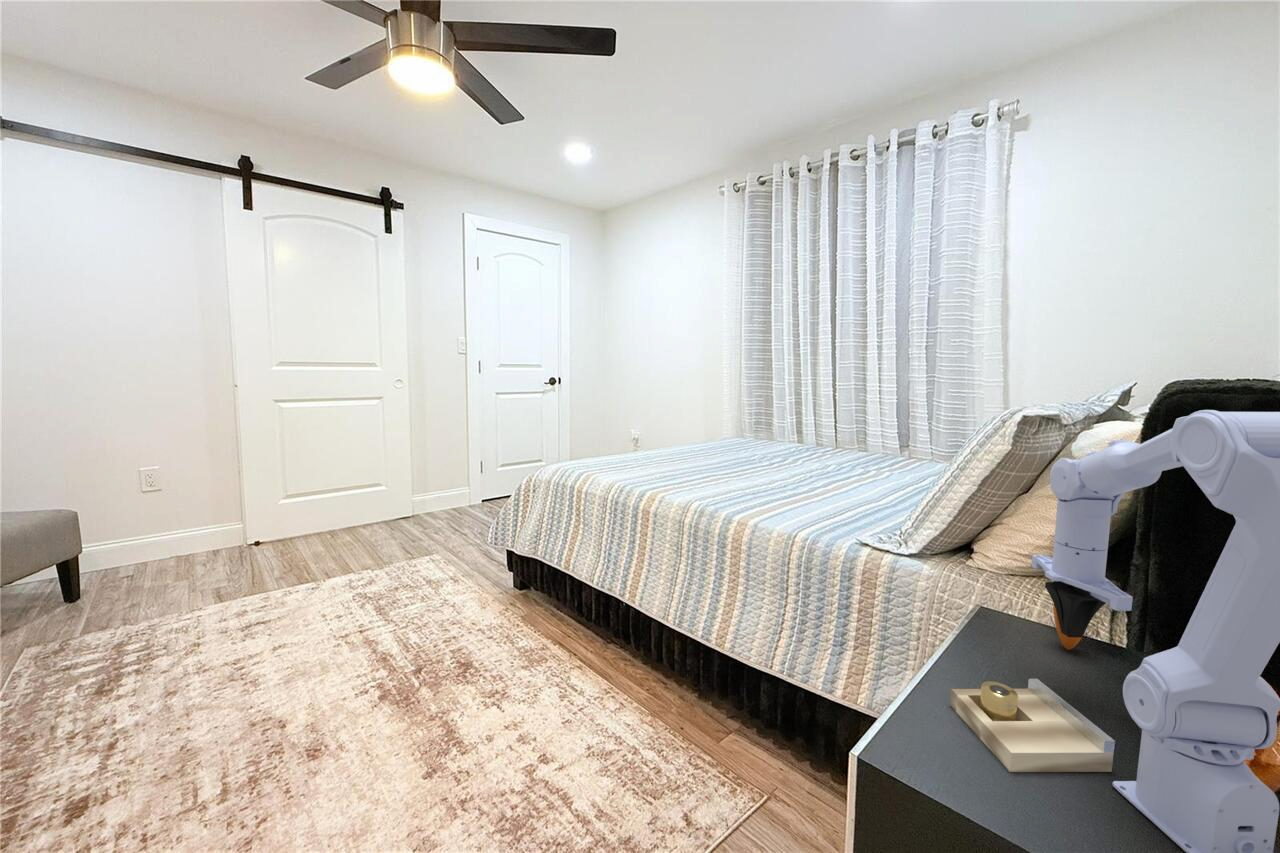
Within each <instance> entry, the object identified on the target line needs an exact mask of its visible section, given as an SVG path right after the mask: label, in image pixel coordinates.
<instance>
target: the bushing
mask: <svg viewBox="0 0 1280 853" xmlns="http://www.w3.org/2000/svg"><path fill="white" fill-rule="evenodd" d="M980 689H981V697H980V709H981V710H982V711H983V712H984V713H985V714H986V715H987V716H988V717H989V718H990V719H991V720H992V721H1016V713H1017V701H1018V694H1017V693H1016V691H1014V690H1013V689H1014V688H1012V687H1010V686H1009V685H1006V684H1003V683H1001V682H997V681H993V680H991V681H990V680H988V681H983V682H982V683H981V685H980Z"/></svg>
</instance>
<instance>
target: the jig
mask: <svg viewBox="0 0 1280 853" xmlns="http://www.w3.org/2000/svg"><path fill="white" fill-rule="evenodd" d="M1027 684H1028V685H1027V688H1012V689H1013V690H1014V691H1016V693H1017V694H1018V701H1017V713H1016V721H992V720H991V719H990V718H989V717H988V716H987V715H986V714H985V713H984V712H983V711H982V710H981V709H980V697H981V688H951V690H950V704H949V705H950V707H951V708H952V709H953V710H954V711H955V712H956V714H957V715H958V716H959V717H960V718H961V719H962V721H964V722H965V724H966V725H967V726H968V727H969V728H970V729H971V730H972V731H973V733H974V734H975V735H976V737H978V738H979V739H980V741H981V742H982V743H983V744H984V745H985V746H986V748H988V749H989V750H990V752H991V753H992V754H993V755H994V756H995V757H996V758H997V759H998V760H999V762H1001V764H1002V765H1003V766H1004V767H1005V768H1006V769H1007V771H1008V772H1009V773H1050V772H1051V773H1068V772H1069V773H1076V772H1077V773H1082V772H1083V773H1089V772H1090V773H1093V772H1096V773H1104V772H1105V773H1107V772H1109V773H1111V772H1112V770H1113V762H1114V755H1115V754H1114V752H1115V744H1116V740H1114V739H1113V738H1112V737H1111V736H1110V735H1108V734H1107V733H1106V732H1104V731H1103V730H1102V729H1101V728H1100V727H1098V726H1097V725H1096V724H1094V723H1093V722H1092V721H1091V720H1090V719H1088V718H1087V717H1086V716H1084V715H1083V714H1082V713H1081V712H1080V711H1079V710H1077V708H1075V707H1073V706H1072V705H1071V704H1069V703H1068V702H1067V701H1066V700H1065V699H1063V698H1062V696H1060V695H1058V694H1057V693H1056V692H1055V691H1053V690H1052V689H1051V688H1050V687H1048V686H1047V685H1046V684H1045V683H1044V682H1042V681H1041V680H1040V679H1038V678H1028V683H1027Z"/></svg>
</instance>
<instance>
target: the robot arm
mask: <svg viewBox="0 0 1280 853" xmlns="http://www.w3.org/2000/svg"><path fill="white" fill-rule="evenodd" d="M1107 444H1108V446H1107V447H1106V448H1104V449H1101V450H1098V451H1089V452H1088V453H1086V454H1085V455H1086V456H1084V457H1082V458H1080V459H1072V458H1071V459H1070V458H1067V457H1060V458H1059V459H1058V460H1056V461H1055V462H1054V463H1053V464H1052V466H1051V469H1050V473H1049V484H1050V488H1051V491H1052V493H1053V495H1054V496H1055V497H1056V498H1057V505H1056V506H1057V508H1056V517H1055V525H1054V526H1055V527H1054V528H1055V529H1054V538H1053V539H1054V540H1053V550H1052V551H1053V552H1052V553H1053V554H1052V557H1051V556H1048V555H1046V554H1032V555H1031V557H1032V558H1031V564H1030V566H1031V567H1032V568H1033V569H1036V570H1042V571H1044V576H1045V577H1046V578H1048V579H1050V580H1051V581H1046V582H1045V583H1044V587H1045V589H1046V591H1047V592H1048V594H1049V596H1050V598H1051V600H1052V602H1053V607H1054V606H1055V608H1056V612H1057V616H1058V620H1059V625H1060V629H1061V633H1063V634H1064V635H1066V636H1067V637H1082V638H1083V637H1084V635H1085V633H1086V631H1087V629H1088V626H1089V624H1090V623H1091V621H1092V620H1093V618H1094V616H1095V615H1096V614H1097V613H1098V611H1100V609H1101V608H1102V607H1103V606H1104V605H1106V604H1107V605H1109V608H1110V609H1112V610H1114V611H1115V612H1131V611H1132V606H1133V600H1134V599H1133V598H1134V597H1133V596H1132V595H1130V594H1129V593H1126V592H1125V591H1123V590H1121V589H1120V587H1118V586H1116V585H1115V584H1114V583H1113V582H1111V581H1110V580H1109V579H1108V578H1107V577H1106V570H1107V562H1108V561H1107V560H1108V550H1109V540H1110V538H1109V537H1110V529H1111V519H1112V516H1115V515H1116V513H1117V512H1118V505H1119V502H1121V500H1122V499H1123V497H1124V496H1125V495H1126V494H1125V493H1127V492H1133V491H1134V490H1138V489H1142V488H1146V487H1149V486H1151V485H1153V484H1155V483H1156V482H1157V481H1159V479H1160V477H1161V475H1162V472H1163V471H1168V470H1172V469H1176V468H1181V467H1183V468H1184V469H1185V470H1186V471H1187V473H1188V474H1189V476H1190V477H1191V478H1192V479H1193V480H1194V482H1195V483H1196V485H1197V486H1198V487H1199V488H1200V490H1201V491H1202V493H1204V495H1205V497H1206V498H1207V499H1208V500H1209V501H1210V502H1211V505H1213V507H1215V508H1216V509H1219V510H1221V511H1224V512H1225V513H1227V514H1230V515H1233V517H1234V519H1235V525H1234V526H1233V529H1232V530H1231V532H1230V534H1229V537H1228V538H1227V541H1226V543H1225V546H1224V548H1223V550H1222V552H1221V554H1220V555H1219V558H1218V560H1217V562H1216V564H1215V567H1214V568H1213V570H1212V572H1211V574H1210V577H1209V579H1208V581H1207V582H1206V585H1205V588H1204V590H1203V592H1202V594H1201V596H1200V598H1199V599H1198V603H1197V605H1196V606H1195V609H1194V611H1193V613H1192V615H1191V617H1190V619H1189V622H1188V623H1187V625H1186V628H1185V630H1184V631H1183V634H1182V636H1181V638H1180V640H1179V643H1178V644H1177V646H1175V647H1172V648H1170V649H1166V650H1163V651H1161V652H1157V653H1154V654H1151V655H1148V656H1146V657H1143V659H1142V661H1141V663H1140V665H1139V667H1137V668H1136V669H1135V670H1132V671H1130V672H1129V673H1128V675H1126V677H1125V679H1124V681H1123V685H1122V698H1123V701H1124V705H1125V708H1126V709H1127V713H1128V714H1129V716H1130V717H1131V719H1132V720H1133V721H1134V723H1136V725H1137V726H1138V728H1140V730H1141V735H1140V736H1141V738H1140V748H1139V756H1138V762H1137V772H1136V780H1120V781H1119V780H1113V781H1112V787H1114V789H1116V790H1117V792H1118V793H1120V794H1121V795H1122V796H1123V797H1124V798H1125V799H1126V800H1127V801H1129V803H1131V804H1132V805H1133V806H1134V807H1135V808H1136V809H1137V810H1138V811H1140V812H1141V813H1142V814H1143V815H1144V816H1145V817H1146V818H1147V819H1148V820H1150V821H1151V822H1152V823H1153V824H1154V825H1155V826H1157V827H1158V828H1159V829H1160V830H1161V831H1162V832H1163V833H1164V834H1165V835H1166V836H1168V837H1169V838H1170V839H1171V841H1173V842H1174V843H1176V845H1177V846H1179V847H1180V848H1181V849H1182V850H1183V851H1184V852H1186V853H1274V849H1275V841H1276V835H1277V829H1278V828H1277V827H1278V821H1279V816H1280V802H1279V799H1278V796H1277V795H1276V794H1275V792H1274V791H1273V790H1272V789H1271V788H1270V787H1268V786H1267V785H1266V784H1265V783H1264V782H1262V780H1260V779H1259V777H1257V776H1256V775H1255V773H1254V772H1253V771H1252V769H1251V768H1250V766H1248V764H1247V762H1246V760H1254V758H1255V757H1254V756H1255V751H1256V750H1265V749H1268V748H1270V747H1271V746H1272V745H1273V744H1274V742H1275V741H1276V738H1277V733H1278V724H1277V717H1278V713H1279V712H1280V697H1279V695H1278V694H1277V693H1276V691H1275V690H1274V689H1273V687H1272V686H1271V685H1270V684H1269V683H1268V682H1267V681H1266V680H1265V679H1264V678H1263V677H1262V676H1261V675H1262V673H1263V671H1264V669H1265V668H1266V666H1267V665H1268V663H1269V661H1270V659H1271V657H1272V656H1273V654H1274V653H1275V651H1276V649H1277V647H1278V645H1279V644H1280V411H1219V410H1215V409H1203V410H1202V409H1201V410H1198V411H1194V412H1192V413H1190V414H1189V415H1186V416H1181V417H1178V418H1176V419H1175V421H1174V424H1173V427H1172V428H1169V429H1168V430H1166V431H1164V432H1162V433H1160V434H1158V435H1156V436H1153V437H1152V438H1151V439H1150V438H1149V439H1148V440H1146V441H1143V442H1142V443H1138V442H1134V441H1129V440H1128V439H1127V440H1126V439H1114V440H1111V441H1109V442H1108V443H1107Z"/></svg>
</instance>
